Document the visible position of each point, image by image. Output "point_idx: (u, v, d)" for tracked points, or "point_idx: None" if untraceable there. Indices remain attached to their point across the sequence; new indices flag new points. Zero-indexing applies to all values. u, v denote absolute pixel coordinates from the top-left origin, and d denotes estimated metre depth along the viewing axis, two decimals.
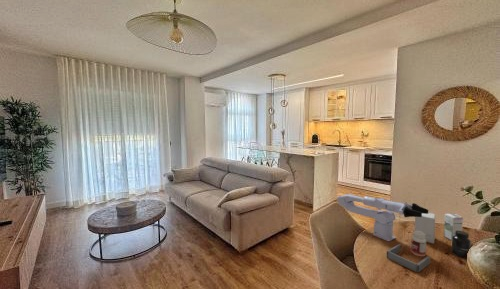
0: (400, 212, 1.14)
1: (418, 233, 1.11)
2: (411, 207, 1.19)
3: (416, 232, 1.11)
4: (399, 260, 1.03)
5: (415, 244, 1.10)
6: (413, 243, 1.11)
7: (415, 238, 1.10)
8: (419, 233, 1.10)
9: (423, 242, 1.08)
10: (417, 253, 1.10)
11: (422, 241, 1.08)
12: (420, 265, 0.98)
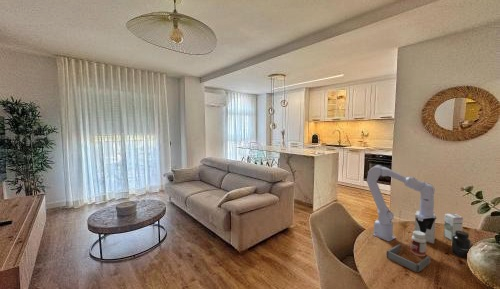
0: (419, 219, 1.11)
1: (418, 233, 1.11)
2: None
3: (416, 232, 1.11)
4: (399, 260, 1.03)
5: (415, 244, 1.10)
6: (413, 243, 1.11)
7: (415, 238, 1.10)
8: (419, 233, 1.10)
9: (423, 242, 1.08)
10: (417, 253, 1.10)
11: (422, 241, 1.08)
12: (420, 265, 0.98)
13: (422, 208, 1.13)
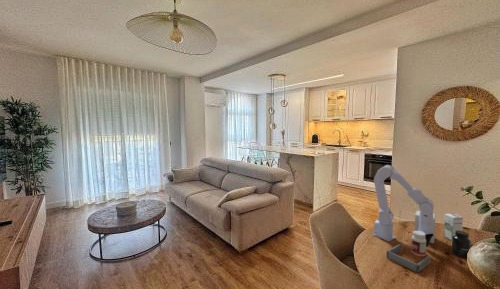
0: None
1: (418, 233, 1.11)
2: None
3: (416, 232, 1.11)
4: (399, 260, 1.03)
5: (415, 244, 1.10)
6: (413, 243, 1.11)
7: (415, 238, 1.10)
8: (419, 233, 1.10)
9: (423, 242, 1.08)
10: (417, 253, 1.10)
11: (422, 241, 1.08)
12: (420, 265, 0.98)
13: (421, 224, 1.14)
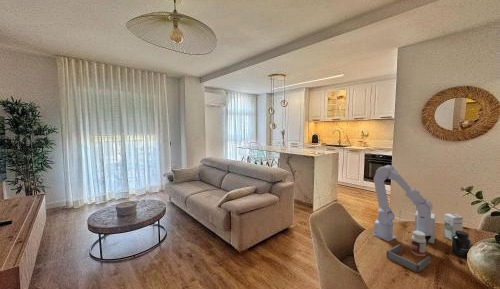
0: None
1: (418, 233, 1.11)
2: None
3: (416, 232, 1.11)
4: (399, 260, 1.03)
5: (415, 244, 1.10)
6: (413, 243, 1.11)
7: (415, 238, 1.10)
8: (419, 233, 1.10)
9: (423, 242, 1.08)
10: (417, 253, 1.10)
11: (422, 241, 1.08)
12: (420, 265, 0.98)
13: (419, 225, 1.13)
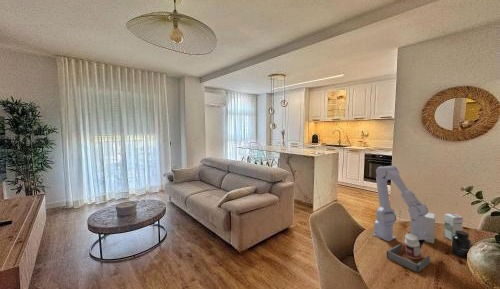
0: None
1: (411, 237, 1.06)
2: None
3: (408, 236, 1.07)
4: (399, 260, 1.03)
5: (409, 249, 1.06)
6: (407, 247, 1.07)
7: (408, 243, 1.06)
8: (412, 237, 1.06)
9: (416, 246, 1.04)
10: (412, 257, 1.07)
11: (415, 245, 1.04)
12: (420, 265, 0.98)
13: (413, 229, 1.09)
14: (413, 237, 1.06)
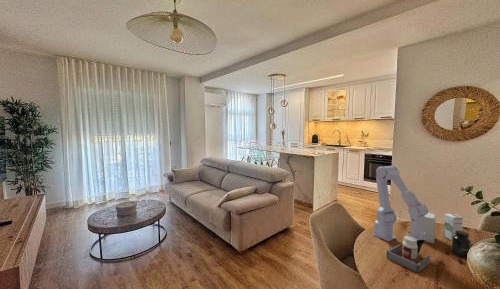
0: None
1: (410, 238, 1.06)
2: None
3: (407, 237, 1.06)
4: (399, 260, 1.03)
5: (406, 250, 1.05)
6: (404, 249, 1.06)
7: (406, 244, 1.05)
8: (411, 238, 1.05)
9: (415, 248, 1.03)
10: (408, 259, 1.04)
11: (414, 247, 1.03)
12: (420, 265, 0.98)
13: (412, 229, 1.09)
14: (412, 239, 1.05)
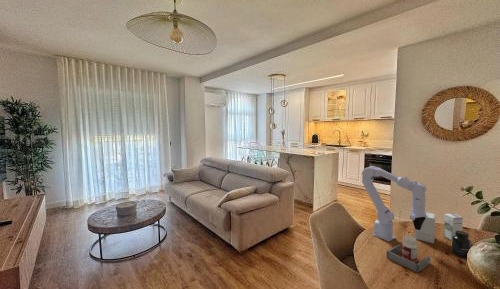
0: (411, 217, 1.12)
1: (409, 238, 1.06)
2: None
3: (407, 237, 1.06)
4: (399, 260, 1.03)
5: (406, 250, 1.05)
6: (404, 249, 1.06)
7: (406, 244, 1.05)
8: (410, 238, 1.06)
9: (414, 248, 1.03)
10: (408, 259, 1.04)
11: (413, 247, 1.03)
12: (420, 265, 0.98)
13: (414, 207, 1.15)
14: (412, 238, 1.05)
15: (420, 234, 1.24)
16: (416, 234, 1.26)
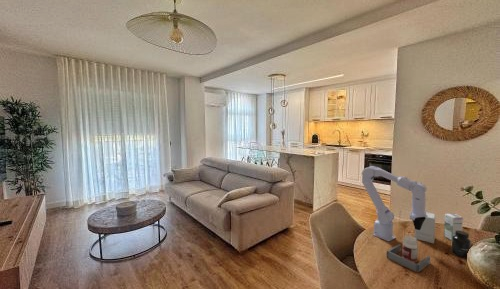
0: (411, 217, 1.12)
1: (410, 238, 1.06)
2: None
3: (407, 237, 1.06)
4: (399, 260, 1.03)
5: (406, 250, 1.05)
6: (404, 249, 1.06)
7: (406, 244, 1.05)
8: (411, 238, 1.05)
9: (415, 248, 1.03)
10: (408, 259, 1.04)
11: (414, 247, 1.03)
12: (420, 265, 0.98)
13: (414, 207, 1.15)
14: (412, 239, 1.05)
15: (420, 234, 1.24)
16: (416, 234, 1.26)
